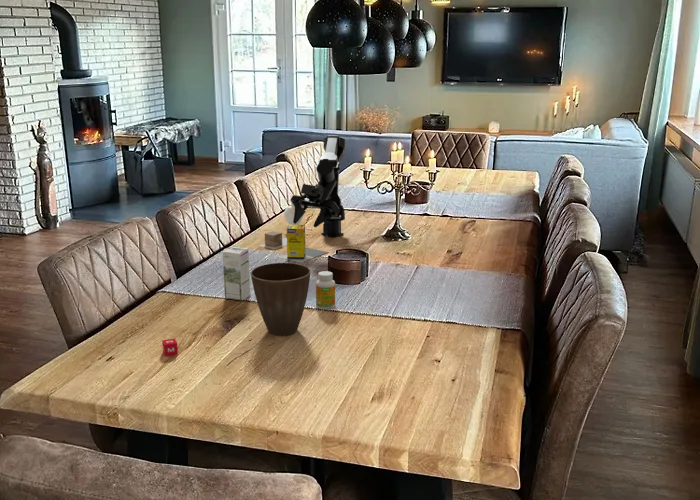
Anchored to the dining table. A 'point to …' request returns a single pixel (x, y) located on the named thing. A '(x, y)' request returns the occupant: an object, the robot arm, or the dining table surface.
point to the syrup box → (236, 273)
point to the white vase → (291, 215)
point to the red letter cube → (170, 347)
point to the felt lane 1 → (284, 243)
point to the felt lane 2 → (307, 255)
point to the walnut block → (273, 239)
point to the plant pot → (281, 295)
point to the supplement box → (295, 241)
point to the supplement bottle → (325, 290)
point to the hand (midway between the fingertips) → (304, 224)
